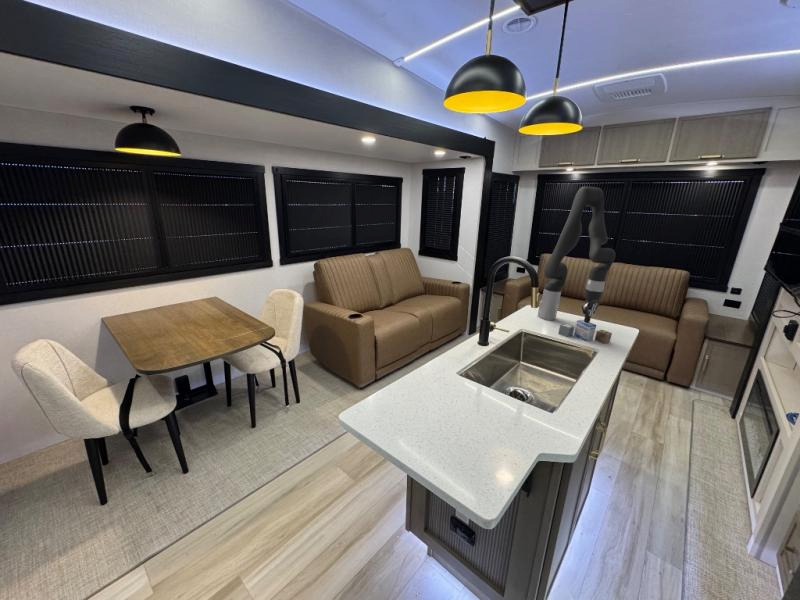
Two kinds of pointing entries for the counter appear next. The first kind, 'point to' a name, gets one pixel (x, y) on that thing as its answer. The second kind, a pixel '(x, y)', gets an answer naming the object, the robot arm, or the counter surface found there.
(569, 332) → the slate block
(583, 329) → the medicine box
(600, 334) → the walnut block
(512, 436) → the counter surface
